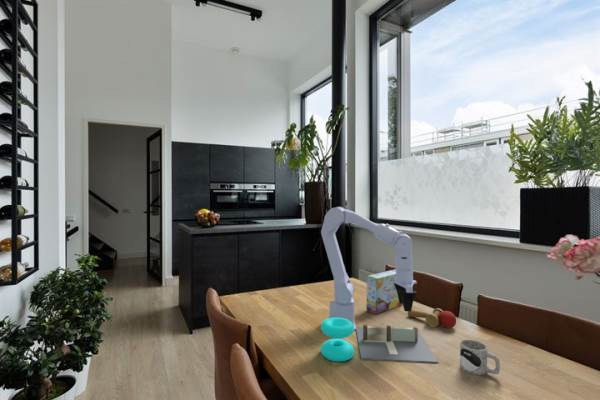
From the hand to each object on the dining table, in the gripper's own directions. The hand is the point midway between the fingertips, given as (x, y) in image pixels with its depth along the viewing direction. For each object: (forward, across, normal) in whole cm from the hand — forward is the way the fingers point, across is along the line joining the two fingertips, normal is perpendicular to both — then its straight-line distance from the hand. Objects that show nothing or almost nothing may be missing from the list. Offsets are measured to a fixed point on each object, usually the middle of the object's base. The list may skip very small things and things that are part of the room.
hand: (405, 307), depth 112 cm
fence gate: (+8, -8, +2) cm, 12 cm away
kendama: (+10, +10, -12) cm, 18 cm away
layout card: (+9, -9, +6) cm, 14 cm away
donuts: (+9, -18, +24) cm, 31 cm away
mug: (+10, -23, -15) cm, 29 cm away
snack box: (+9, +25, +2) cm, 27 cm away
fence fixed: (+9, -8, +11) cm, 16 cm away
